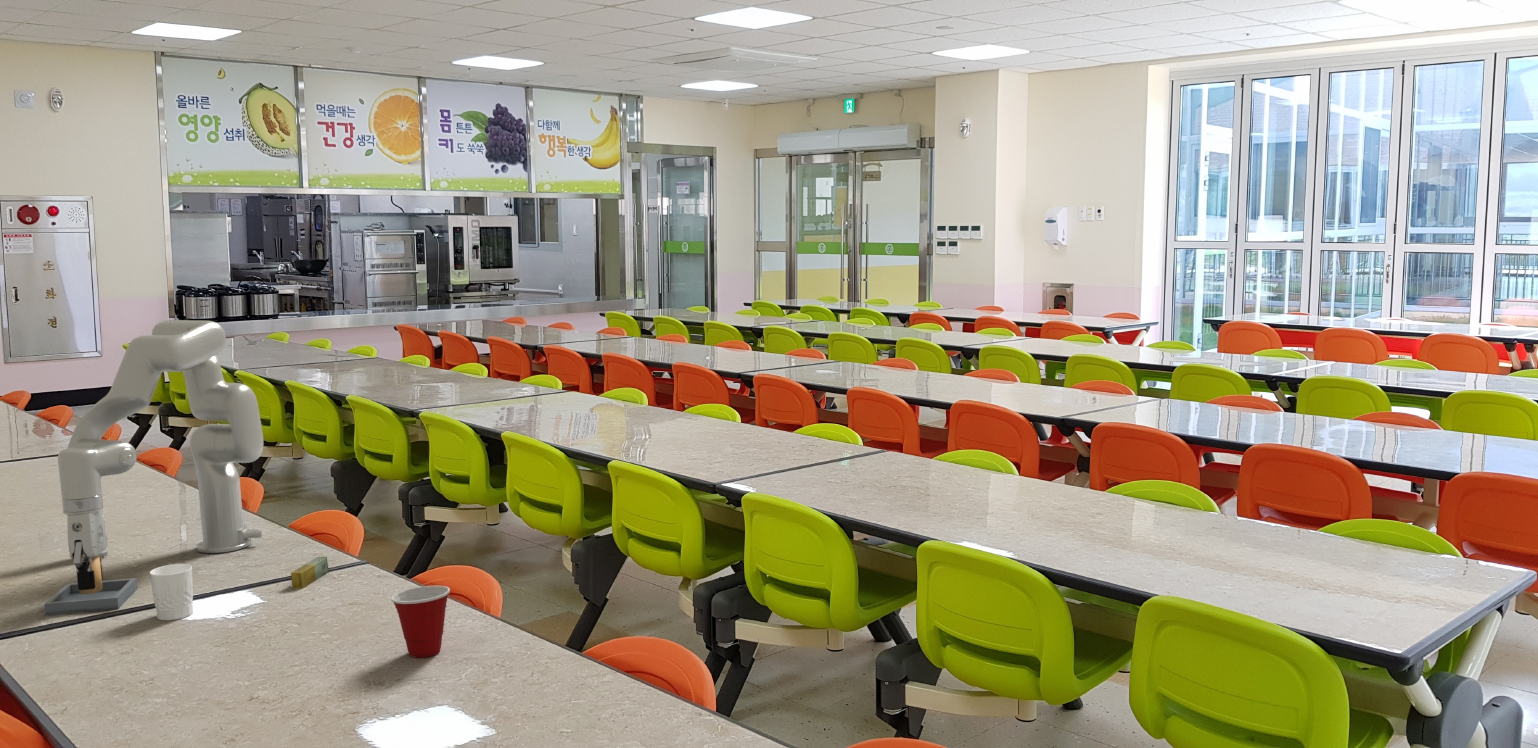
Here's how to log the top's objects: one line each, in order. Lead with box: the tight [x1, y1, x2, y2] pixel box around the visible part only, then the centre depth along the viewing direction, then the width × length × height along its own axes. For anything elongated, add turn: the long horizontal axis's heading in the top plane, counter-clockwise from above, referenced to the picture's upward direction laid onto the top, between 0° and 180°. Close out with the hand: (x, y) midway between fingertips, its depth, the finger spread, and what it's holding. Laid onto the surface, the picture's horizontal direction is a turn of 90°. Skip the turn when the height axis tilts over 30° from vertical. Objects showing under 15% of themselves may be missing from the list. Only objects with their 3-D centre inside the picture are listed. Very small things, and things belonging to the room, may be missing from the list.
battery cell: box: [79, 556, 103, 594], centre depth 249 cm, size 4×4×8 cm
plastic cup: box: [390, 585, 451, 659], centre depth 216 cm, size 11×11×12 cm
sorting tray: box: [43, 577, 138, 616], centre depth 250 cm, size 14×14×2 cm
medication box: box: [290, 556, 330, 589], centre depth 262 cm, size 12×3×4 cm, turn 173°
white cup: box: [149, 563, 194, 621], centre depth 240 cm, size 8×8×10 cm
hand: (90, 584), depth 250 cm, fingers closed on battery cell, 4 cm apart
